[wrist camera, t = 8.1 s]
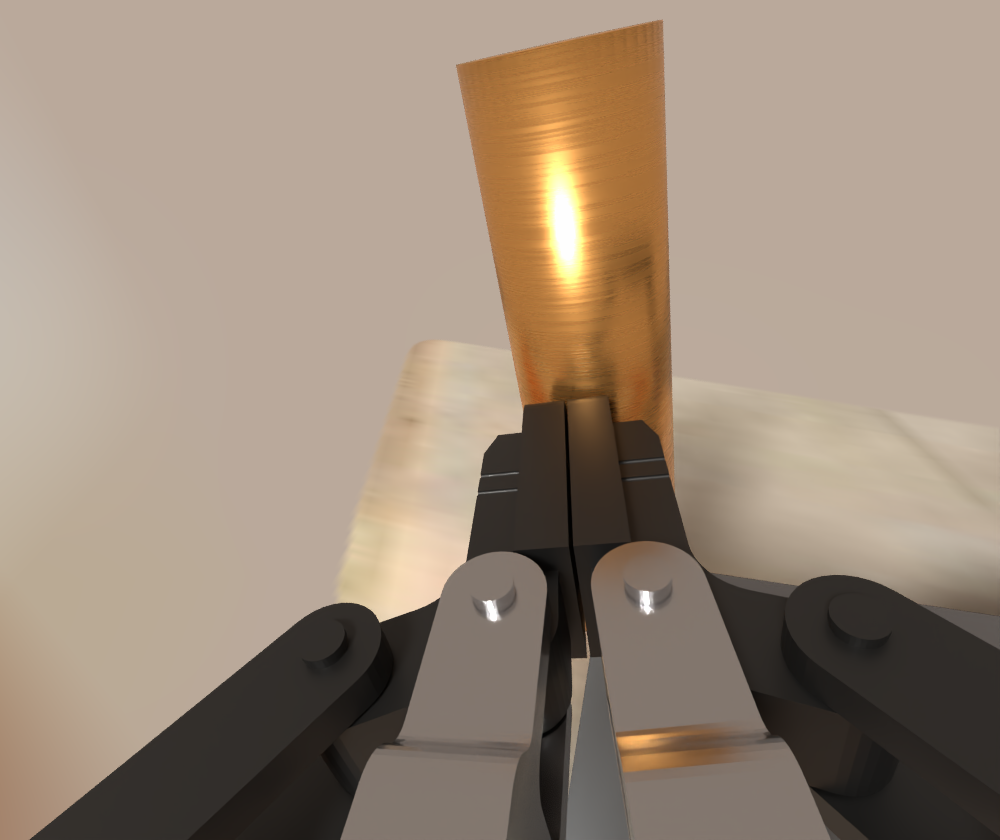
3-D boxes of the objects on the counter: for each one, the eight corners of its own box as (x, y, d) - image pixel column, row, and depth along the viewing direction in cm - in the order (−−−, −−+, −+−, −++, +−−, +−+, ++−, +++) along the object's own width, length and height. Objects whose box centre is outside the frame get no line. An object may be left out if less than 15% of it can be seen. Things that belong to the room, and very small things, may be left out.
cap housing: (1185, 673, 20) (1266, 571, 17) (1800, 1508, 9) (2321, 1610, 6) (602, 612, 26) (590, 530, 23) (537, 1050, 15) (501, 995, 12)
